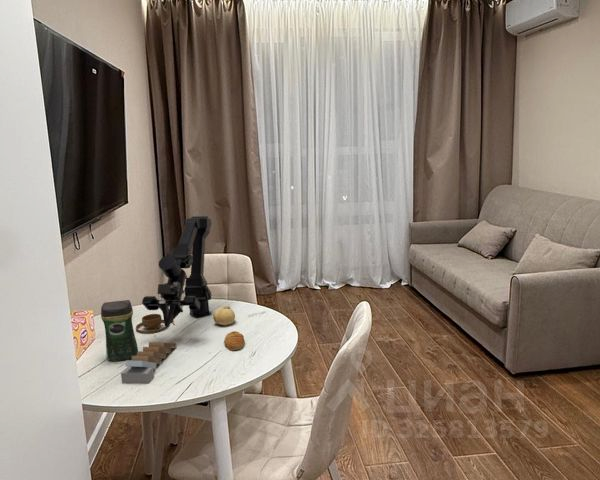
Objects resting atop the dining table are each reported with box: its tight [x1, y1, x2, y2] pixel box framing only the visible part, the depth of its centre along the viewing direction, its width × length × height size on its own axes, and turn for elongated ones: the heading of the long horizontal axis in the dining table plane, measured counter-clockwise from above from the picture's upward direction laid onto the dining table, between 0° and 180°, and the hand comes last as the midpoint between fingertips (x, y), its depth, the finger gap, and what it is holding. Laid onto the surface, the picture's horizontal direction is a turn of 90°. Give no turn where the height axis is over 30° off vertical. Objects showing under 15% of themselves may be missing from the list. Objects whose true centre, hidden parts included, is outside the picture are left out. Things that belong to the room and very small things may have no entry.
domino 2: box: [130, 355, 162, 365], centre depth 161 cm, size 2×5×10 cm
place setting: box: [135, 313, 176, 335], centre depth 200 cm, size 18×20×6 cm
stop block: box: [120, 366, 155, 384], centre depth 155 cm, size 4×8×3 cm, turn 82°
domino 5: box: [148, 341, 177, 349], centre depth 173 cm, size 2×5×10 cm
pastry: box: [223, 330, 246, 352], centre depth 176 cm, size 9×7×4 cm
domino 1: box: [124, 360, 158, 370], centre depth 157 cm, size 2×5×10 cm
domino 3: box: [136, 350, 167, 360], centre depth 165 cm, size 2×5×10 cm
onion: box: [212, 304, 236, 327], centre depth 197 cm, size 8×8×7 cm
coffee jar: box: [100, 299, 139, 362], centre depth 171 cm, size 10×8×19 cm
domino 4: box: [142, 346, 172, 354], centre depth 169 cm, size 2×5×10 cm
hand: (166, 326), depth 176 cm, fingers closed
